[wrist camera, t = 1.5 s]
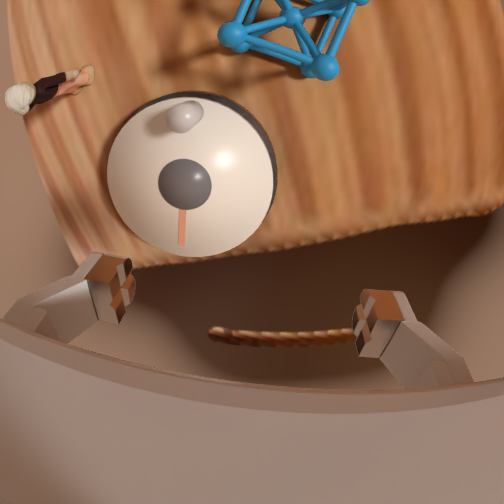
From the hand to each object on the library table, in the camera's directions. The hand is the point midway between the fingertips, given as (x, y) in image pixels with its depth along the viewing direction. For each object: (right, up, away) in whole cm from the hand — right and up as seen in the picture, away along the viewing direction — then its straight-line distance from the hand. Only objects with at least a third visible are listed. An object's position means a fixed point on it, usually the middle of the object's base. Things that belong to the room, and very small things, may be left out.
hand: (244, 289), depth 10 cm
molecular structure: (+4, +25, +15) cm, 29 cm away
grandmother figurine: (-21, +22, +18) cm, 35 cm away
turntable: (-7, +9, +23) cm, 26 cm away
